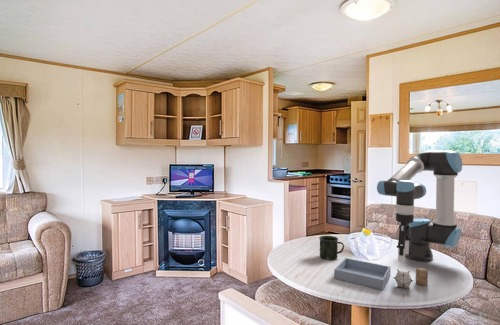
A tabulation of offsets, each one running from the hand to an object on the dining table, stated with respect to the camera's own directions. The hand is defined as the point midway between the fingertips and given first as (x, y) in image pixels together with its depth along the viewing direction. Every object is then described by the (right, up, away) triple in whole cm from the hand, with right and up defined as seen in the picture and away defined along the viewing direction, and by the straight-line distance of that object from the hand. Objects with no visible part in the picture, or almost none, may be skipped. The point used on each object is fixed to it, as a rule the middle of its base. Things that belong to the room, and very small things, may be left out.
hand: (403, 257), depth 147 cm
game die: (0, -15, +1) cm, 15 cm away
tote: (-15, -14, +12) cm, 24 cm away
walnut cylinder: (+11, -14, +4) cm, 19 cm away
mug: (-24, -13, +41) cm, 49 cm away
